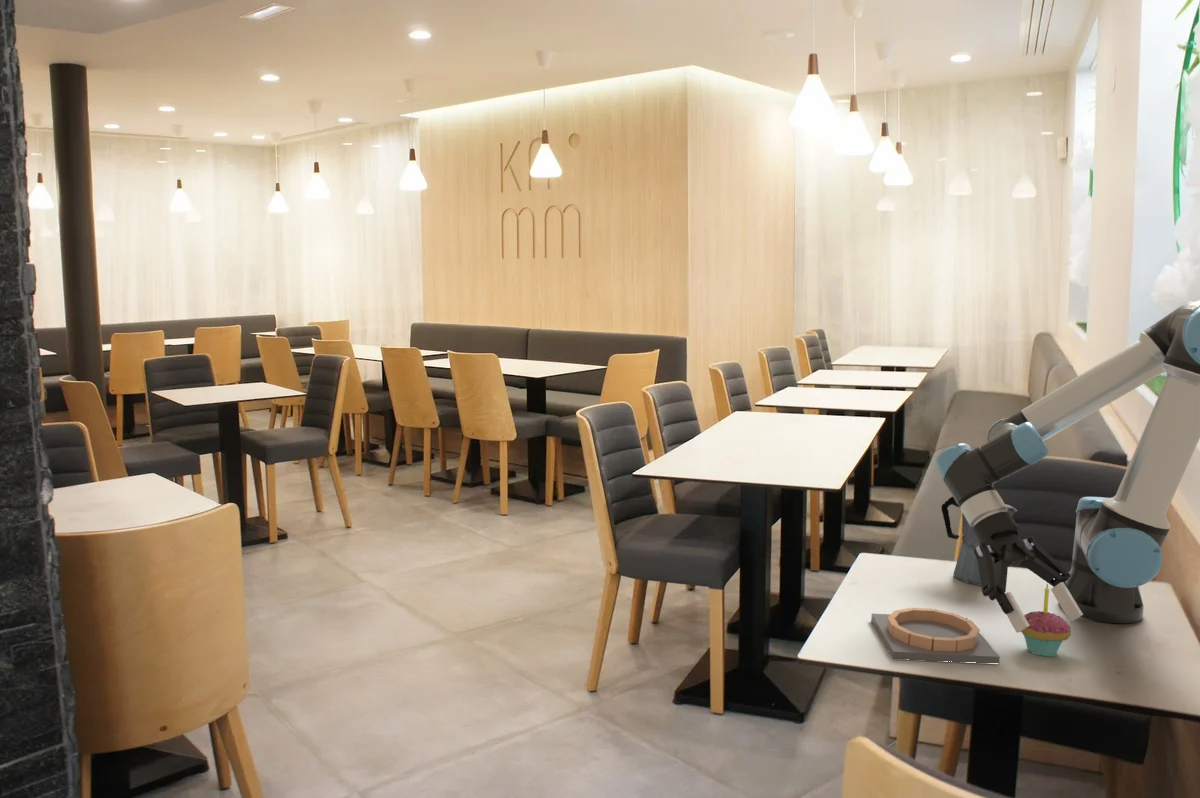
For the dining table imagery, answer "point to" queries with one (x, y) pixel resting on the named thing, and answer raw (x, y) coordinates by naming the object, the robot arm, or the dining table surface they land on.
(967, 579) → the moka pot
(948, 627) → the ring dish
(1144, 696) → the dining table surface
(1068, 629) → the cupcake
